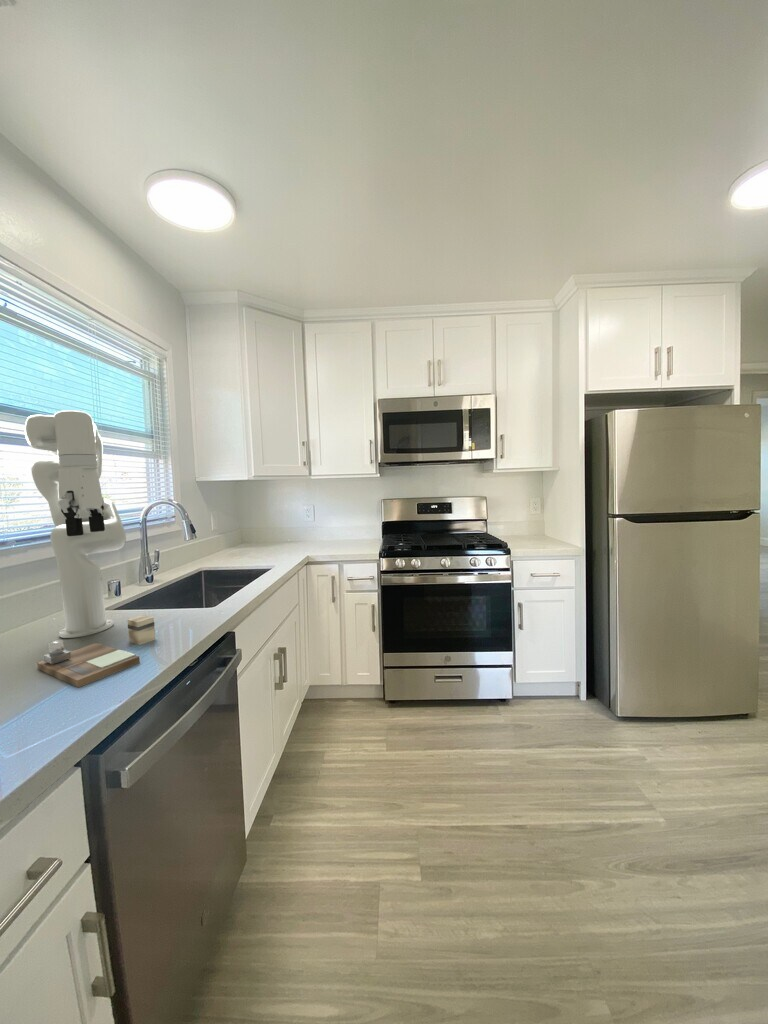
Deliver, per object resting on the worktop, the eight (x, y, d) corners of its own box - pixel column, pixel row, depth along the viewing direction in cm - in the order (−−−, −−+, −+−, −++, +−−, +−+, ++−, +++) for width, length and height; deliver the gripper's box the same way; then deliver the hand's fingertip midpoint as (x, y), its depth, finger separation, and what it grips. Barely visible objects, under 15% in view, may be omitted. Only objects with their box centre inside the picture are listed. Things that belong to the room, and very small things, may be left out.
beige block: (129, 642, 104) (126, 619, 104) (145, 636, 107) (143, 614, 107) (139, 645, 101) (137, 622, 101) (156, 639, 105) (153, 617, 104)
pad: (86, 662, 89) (86, 661, 89) (120, 650, 95) (119, 649, 95) (101, 668, 85) (101, 667, 85) (135, 655, 91) (135, 654, 91)
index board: (37, 669, 90) (36, 662, 90) (97, 648, 101) (96, 642, 101) (78, 687, 80) (77, 680, 80) (139, 662, 90) (139, 655, 90)
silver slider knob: (44, 661, 90) (41, 643, 90) (63, 654, 93) (61, 637, 93) (51, 664, 88) (49, 646, 87) (71, 657, 91) (68, 640, 91)
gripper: (81, 466, 104) (89, 531, 106) (37, 461, 87) (46, 539, 89) (113, 464, 106) (120, 528, 107) (75, 459, 89) (84, 536, 90)
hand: (87, 533), depth 98 cm, fingers open, 9 cm apart
